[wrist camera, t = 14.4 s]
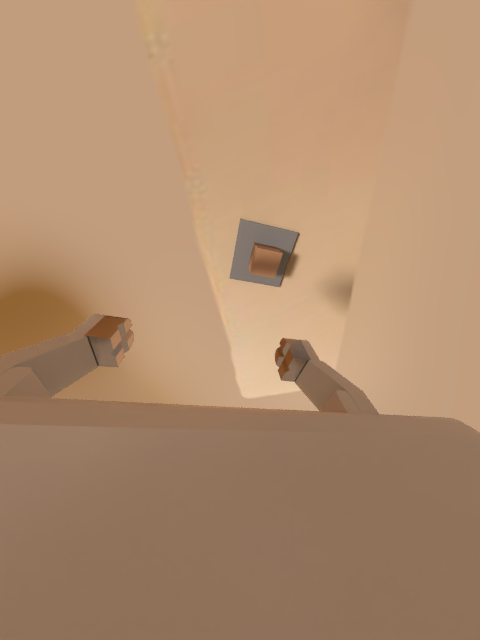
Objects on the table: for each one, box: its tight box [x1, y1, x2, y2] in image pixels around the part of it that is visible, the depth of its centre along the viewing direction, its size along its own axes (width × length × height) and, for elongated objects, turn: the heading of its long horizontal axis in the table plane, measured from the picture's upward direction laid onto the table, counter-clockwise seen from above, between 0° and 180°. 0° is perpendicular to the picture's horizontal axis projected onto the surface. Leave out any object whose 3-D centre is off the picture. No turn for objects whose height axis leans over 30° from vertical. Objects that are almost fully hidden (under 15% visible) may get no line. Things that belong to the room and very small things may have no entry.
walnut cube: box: [248, 242, 283, 278], centre depth 35 cm, size 5×5×5 cm
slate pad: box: [230, 219, 298, 287], centre depth 37 cm, size 12×12×1 cm
